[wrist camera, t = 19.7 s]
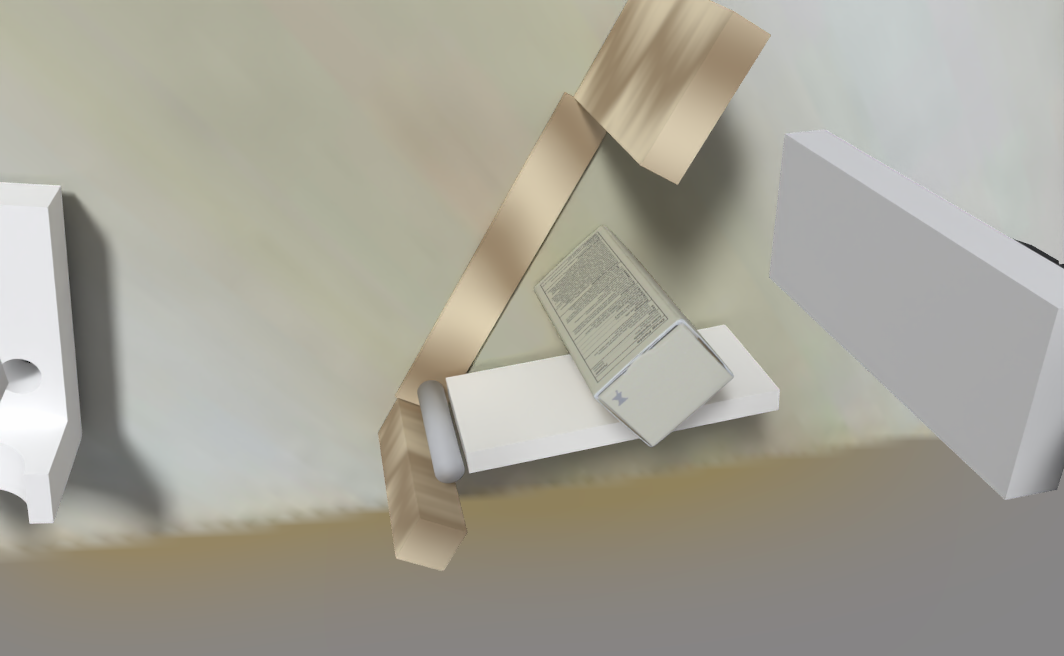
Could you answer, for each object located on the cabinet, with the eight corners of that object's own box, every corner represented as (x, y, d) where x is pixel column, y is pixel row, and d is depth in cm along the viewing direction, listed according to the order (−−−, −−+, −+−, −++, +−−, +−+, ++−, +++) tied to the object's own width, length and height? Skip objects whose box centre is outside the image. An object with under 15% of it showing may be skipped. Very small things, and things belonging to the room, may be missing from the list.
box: (580, 335, 51) (646, 456, 42) (529, 286, 49) (587, 401, 40) (655, 270, 50) (739, 378, 41) (606, 217, 48) (683, 318, 39)
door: (421, 417, 51) (439, 500, 45) (415, 381, 50) (432, 462, 44) (724, 358, 53) (780, 429, 47) (725, 323, 52) (782, 391, 46)
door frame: (421, 447, 52) (447, 572, 44) (374, 431, 51) (391, 557, 43) (685, -5, 44) (781, 41, 35) (636, -36, 43) (723, 4, 34)
